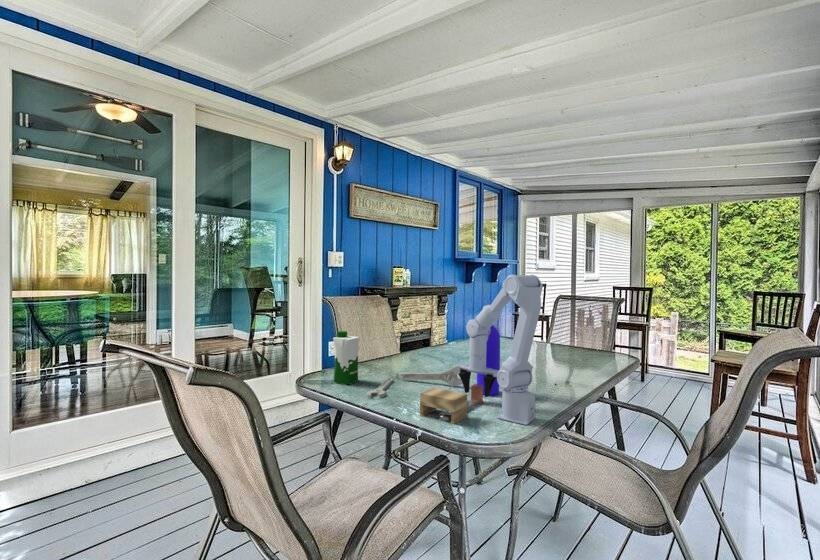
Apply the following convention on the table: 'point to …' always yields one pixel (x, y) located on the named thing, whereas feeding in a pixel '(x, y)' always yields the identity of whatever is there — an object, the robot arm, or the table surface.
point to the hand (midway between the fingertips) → (476, 394)
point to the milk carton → (346, 358)
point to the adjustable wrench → (380, 389)
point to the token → (445, 416)
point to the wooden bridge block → (444, 403)
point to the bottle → (491, 359)
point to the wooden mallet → (475, 396)
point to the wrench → (434, 376)
